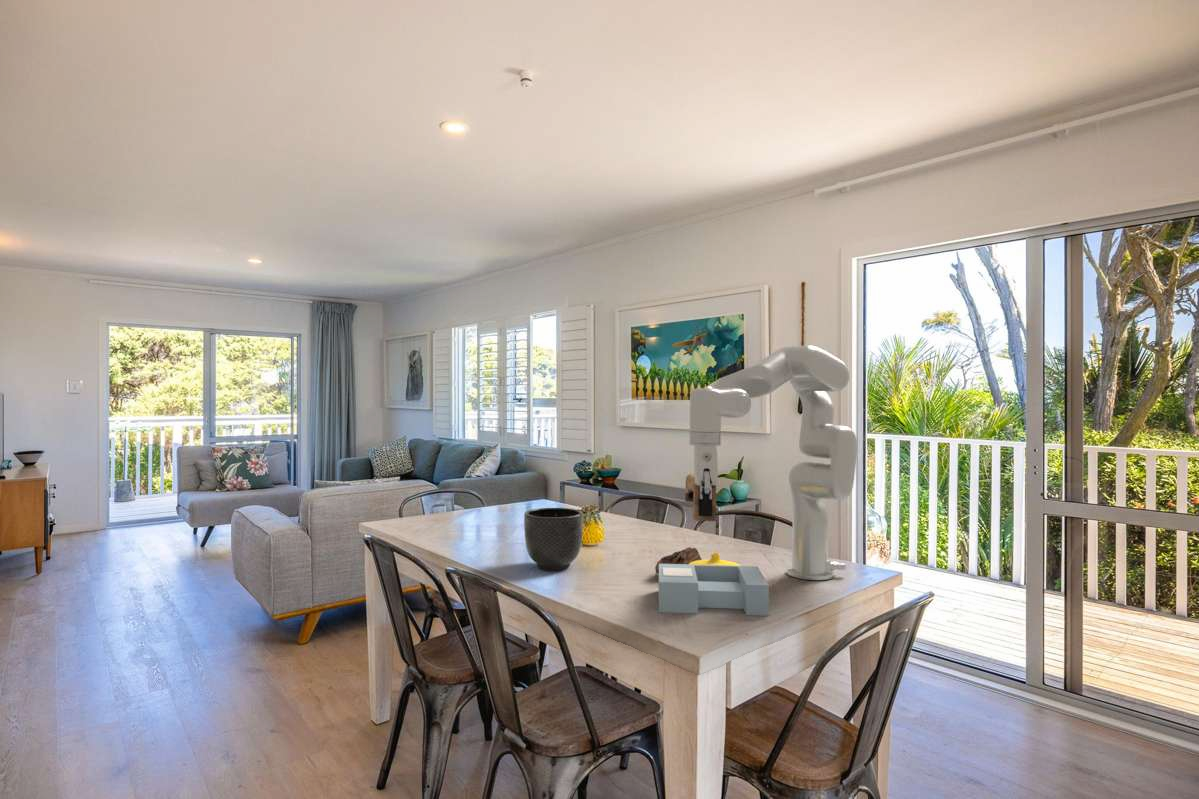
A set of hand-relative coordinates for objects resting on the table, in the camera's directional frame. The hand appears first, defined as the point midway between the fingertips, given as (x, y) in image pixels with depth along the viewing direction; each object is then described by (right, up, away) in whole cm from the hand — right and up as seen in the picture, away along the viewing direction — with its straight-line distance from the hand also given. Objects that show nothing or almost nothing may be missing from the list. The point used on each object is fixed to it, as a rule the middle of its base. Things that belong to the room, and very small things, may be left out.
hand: (704, 513), depth 161 cm
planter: (-39, -22, +33) cm, 55 cm away
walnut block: (0, -1, 0) cm, 1 cm away
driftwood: (-2, -22, +27) cm, 35 cm away
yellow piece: (+6, -22, +21) cm, 31 cm away
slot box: (+2, -22, 0) cm, 22 cm away
